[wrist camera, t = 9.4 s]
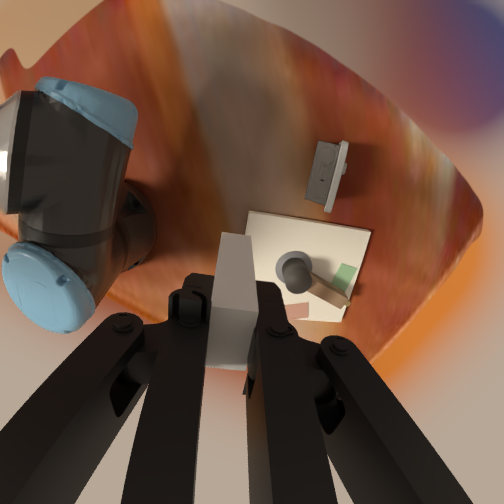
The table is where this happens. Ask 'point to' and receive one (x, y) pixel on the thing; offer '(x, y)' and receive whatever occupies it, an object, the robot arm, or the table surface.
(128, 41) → the table surface
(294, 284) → the peg
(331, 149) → the electrical switch
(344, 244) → the tuner plate
